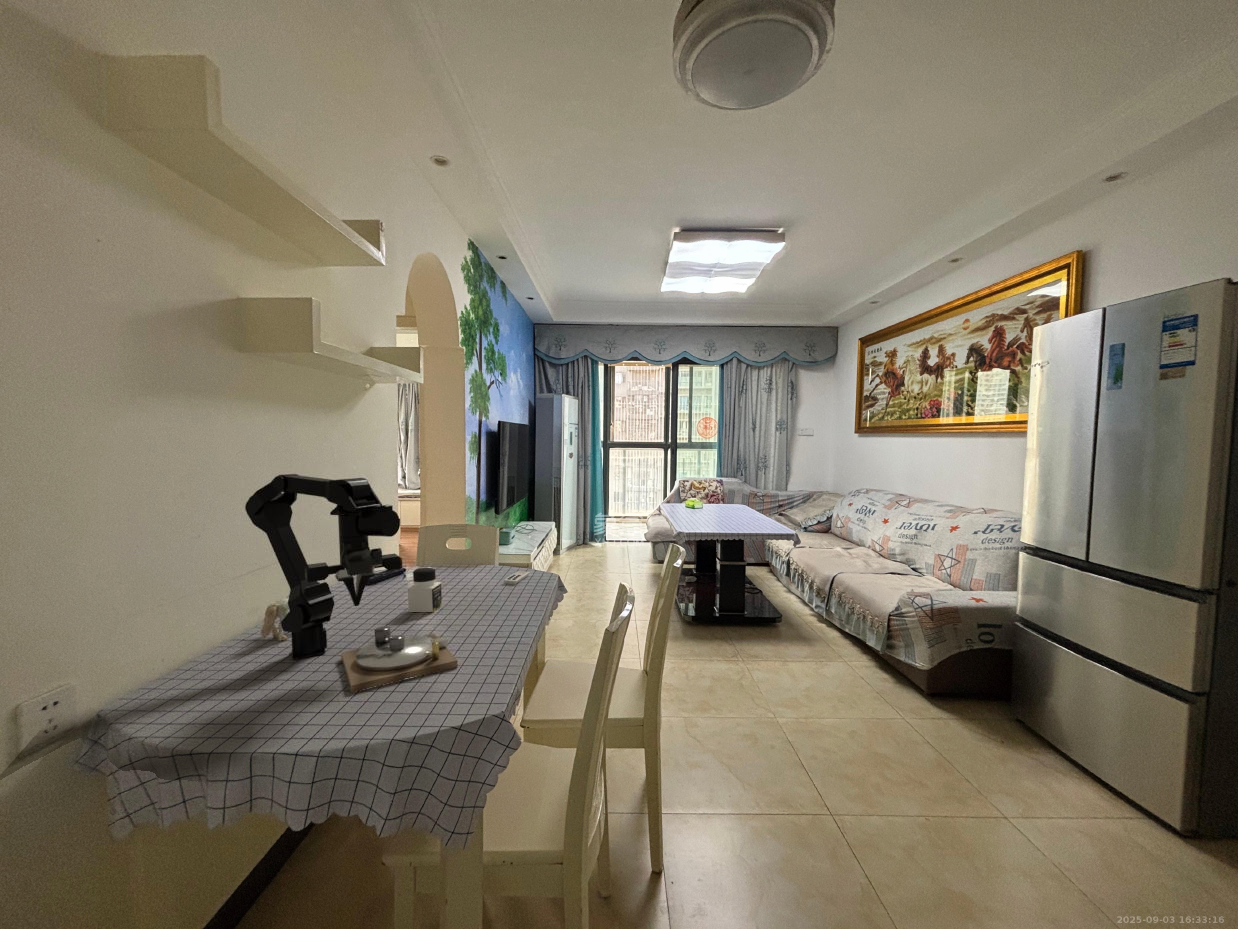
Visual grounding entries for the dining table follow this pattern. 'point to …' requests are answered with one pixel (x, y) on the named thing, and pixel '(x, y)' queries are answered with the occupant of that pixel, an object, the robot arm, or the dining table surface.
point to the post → (397, 642)
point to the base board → (368, 679)
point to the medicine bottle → (424, 591)
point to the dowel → (435, 650)
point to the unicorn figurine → (271, 614)
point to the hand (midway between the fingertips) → (356, 605)
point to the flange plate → (385, 659)
